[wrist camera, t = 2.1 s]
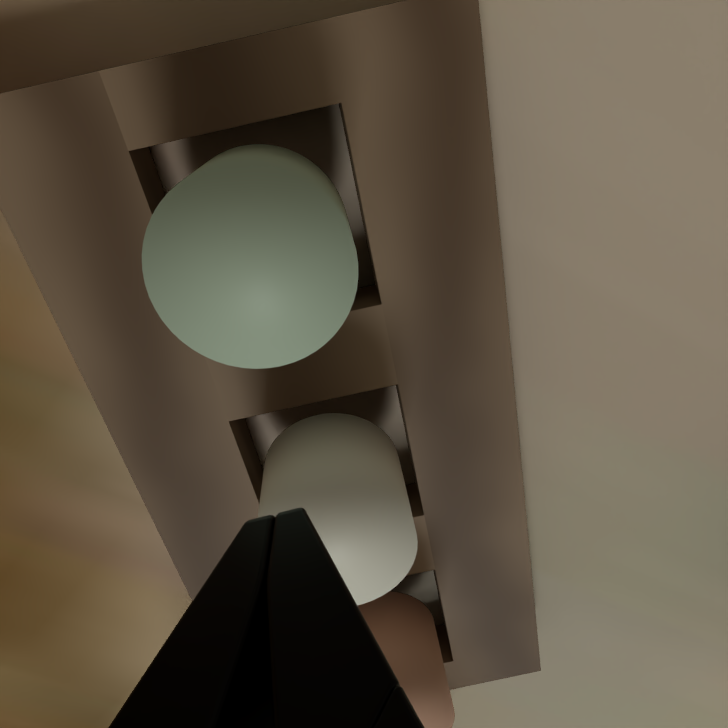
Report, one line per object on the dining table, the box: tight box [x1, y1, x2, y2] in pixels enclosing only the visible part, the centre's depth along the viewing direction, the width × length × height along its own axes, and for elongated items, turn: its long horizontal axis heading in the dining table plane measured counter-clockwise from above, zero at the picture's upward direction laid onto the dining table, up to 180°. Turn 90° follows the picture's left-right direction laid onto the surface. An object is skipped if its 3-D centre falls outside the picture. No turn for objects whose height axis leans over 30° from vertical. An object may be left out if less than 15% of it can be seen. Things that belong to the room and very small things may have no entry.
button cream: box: [258, 413, 418, 605], centre depth 19 cm, size 5×5×4 cm
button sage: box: [142, 144, 358, 369], centre depth 15 cm, size 5×5×4 cm
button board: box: [0, 0, 541, 690], centre depth 22 cm, size 14×28×2 cm, turn 11°
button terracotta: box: [357, 591, 455, 728], centre depth 23 cm, size 5×5×4 cm
